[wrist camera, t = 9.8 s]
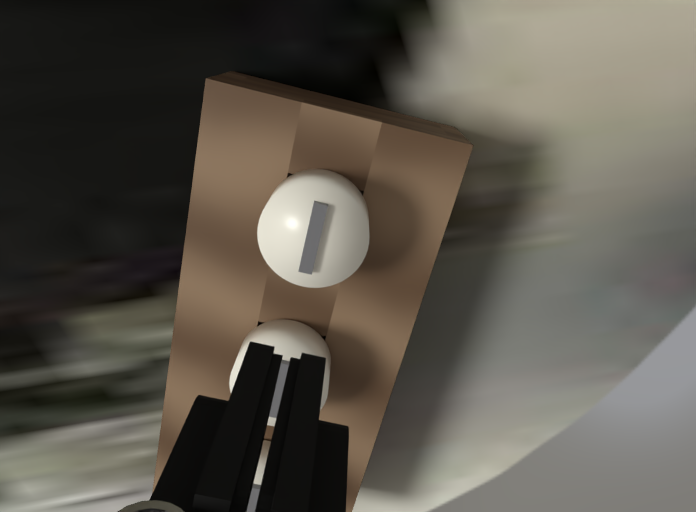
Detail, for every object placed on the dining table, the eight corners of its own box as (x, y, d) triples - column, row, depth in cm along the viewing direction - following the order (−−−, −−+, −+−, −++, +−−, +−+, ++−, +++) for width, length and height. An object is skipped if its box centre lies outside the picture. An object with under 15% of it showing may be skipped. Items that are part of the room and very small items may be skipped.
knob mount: (232, 71, 27) (206, 78, 23) (455, 127, 28) (473, 145, 23) (176, 451, 37) (150, 510, 32) (342, 485, 38) (339, 547, 33)
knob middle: (261, 277, 30) (236, 338, 24) (342, 295, 31) (337, 360, 25) (248, 346, 32) (221, 420, 26) (324, 363, 33) (316, 439, 26)
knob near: (288, 141, 27) (266, 172, 21) (377, 163, 28) (382, 199, 22) (271, 226, 29) (247, 277, 23) (355, 245, 30) (354, 301, 23)
